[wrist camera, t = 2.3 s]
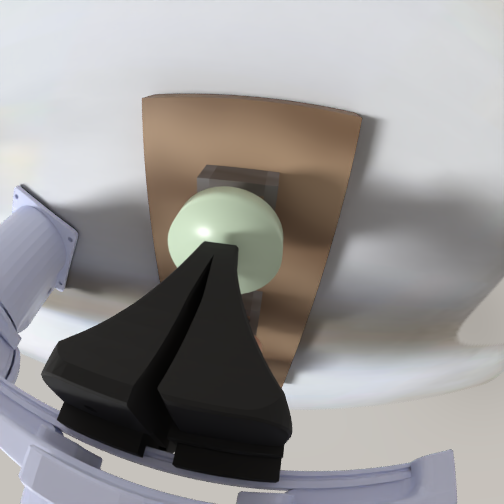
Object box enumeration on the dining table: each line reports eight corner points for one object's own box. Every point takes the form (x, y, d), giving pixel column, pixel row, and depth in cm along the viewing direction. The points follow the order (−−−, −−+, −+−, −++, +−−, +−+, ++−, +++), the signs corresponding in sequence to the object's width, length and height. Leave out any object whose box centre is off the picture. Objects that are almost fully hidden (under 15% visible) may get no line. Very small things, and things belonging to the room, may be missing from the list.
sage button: (277, 260, 15) (274, 300, 13) (190, 248, 16) (173, 285, 13) (291, 177, 13) (291, 208, 10) (187, 166, 13) (162, 193, 10)
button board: (280, 382, 30) (277, 408, 27) (184, 367, 31) (177, 392, 28) (355, 113, 13) (372, 125, 10) (153, 94, 14) (124, 104, 11)
